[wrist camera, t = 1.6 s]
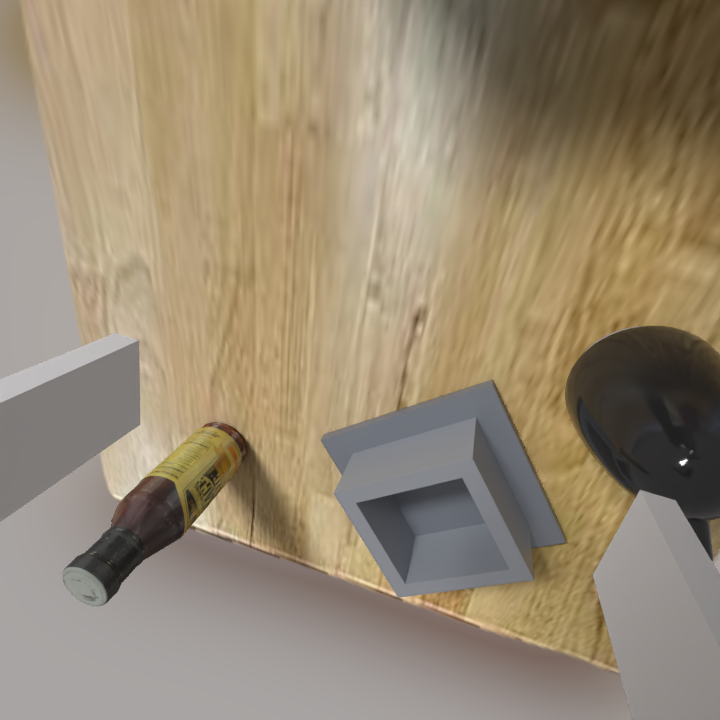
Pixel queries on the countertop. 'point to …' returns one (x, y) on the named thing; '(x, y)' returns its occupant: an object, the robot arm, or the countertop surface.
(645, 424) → the pump dispenser
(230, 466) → the sauce bottle
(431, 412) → the bottle holder
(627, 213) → the countertop surface
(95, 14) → the countertop surface
